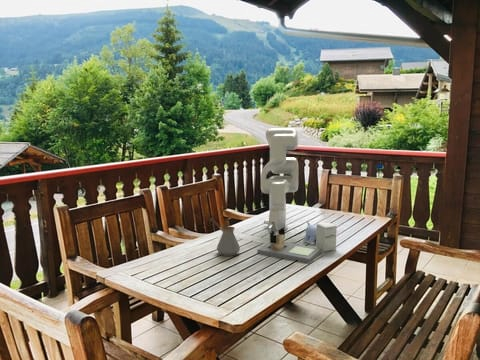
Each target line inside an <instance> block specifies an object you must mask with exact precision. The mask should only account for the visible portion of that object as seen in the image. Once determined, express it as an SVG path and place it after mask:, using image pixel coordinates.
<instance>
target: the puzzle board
mask: <svg viewBox="0 0 480 360" xmlns="http://www.w3.org/2000/svg"><path fill="white" fill-rule="evenodd" d="M256 250H257V254H259V255H263V256H264V255H265V256H270V257H275V258H279V259H280V258H281V259H284V260H290V259H292V260H291V261H295V260H298V261H297V262H301V261H303V262H302V263H306V262H307V264H310V263H311V262H313V260H315V259H316V258H317V257H318V256H319V255H320V254H322V250H321V249H319V248H316V247H312V246H306V245H299V244H294V243H290V242H289V243H288V242H284V249H283V250H282V251H280V250H274V249H271V243H270V241H268V242H267V243H266V244H264V245H262V246H261V247H259V248H257V249H256ZM314 258H315V259H314Z"/></svg>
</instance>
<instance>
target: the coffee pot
mask: <svg viewBox="0 0 480 360" xmlns="http://www.w3.org/2000/svg"><path fill="white" fill-rule="evenodd" d="M215 220H216V219H214V218H212V217H211V218H210V221H211V222H213V223H214V225H215V226H216V227H217V228H218V229H220V231H221V232H222V234H221V236H220V239H219V241H218V244H217V246H216V250H217V252H218V253H219V254H220V255H221V256H223V257H224V256H225V257H231V256H235V255H236V254H237V253H238V252H239V251H240V249H241V247H240V245H239V241H238V240H237V237H236V235H235V233H234V230H235V227H234V226H223V227H221V225H220V224H219V223H218V222H216V221H215Z"/></svg>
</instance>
